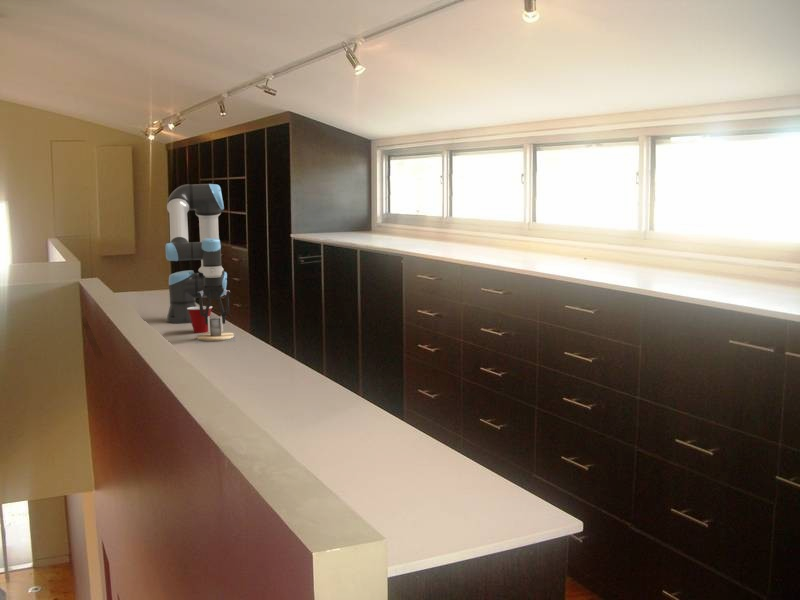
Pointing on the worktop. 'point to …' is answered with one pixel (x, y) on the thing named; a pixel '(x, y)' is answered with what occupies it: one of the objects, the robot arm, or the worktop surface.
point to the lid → (215, 332)
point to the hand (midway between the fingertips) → (215, 331)
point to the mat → (217, 341)
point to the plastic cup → (198, 319)
